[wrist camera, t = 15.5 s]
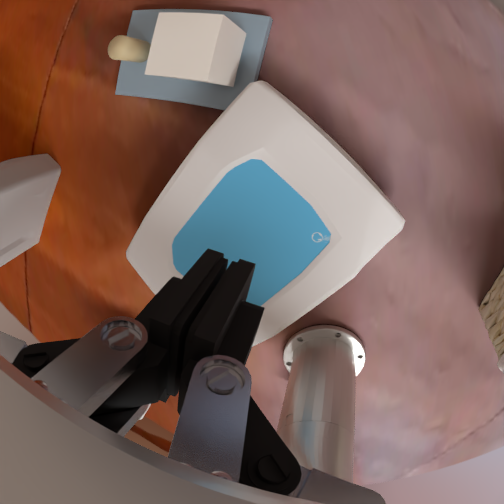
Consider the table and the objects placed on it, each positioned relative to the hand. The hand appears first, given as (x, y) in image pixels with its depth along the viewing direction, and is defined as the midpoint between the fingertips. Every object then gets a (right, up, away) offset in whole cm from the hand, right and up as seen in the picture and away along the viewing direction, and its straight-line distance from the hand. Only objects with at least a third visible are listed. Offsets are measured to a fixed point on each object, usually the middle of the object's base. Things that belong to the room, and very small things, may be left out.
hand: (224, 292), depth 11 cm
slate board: (-7, +25, +21) cm, 33 cm away
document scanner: (+1, +5, +28) cm, 28 cm away
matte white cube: (-3, +23, +18) cm, 29 cm away
